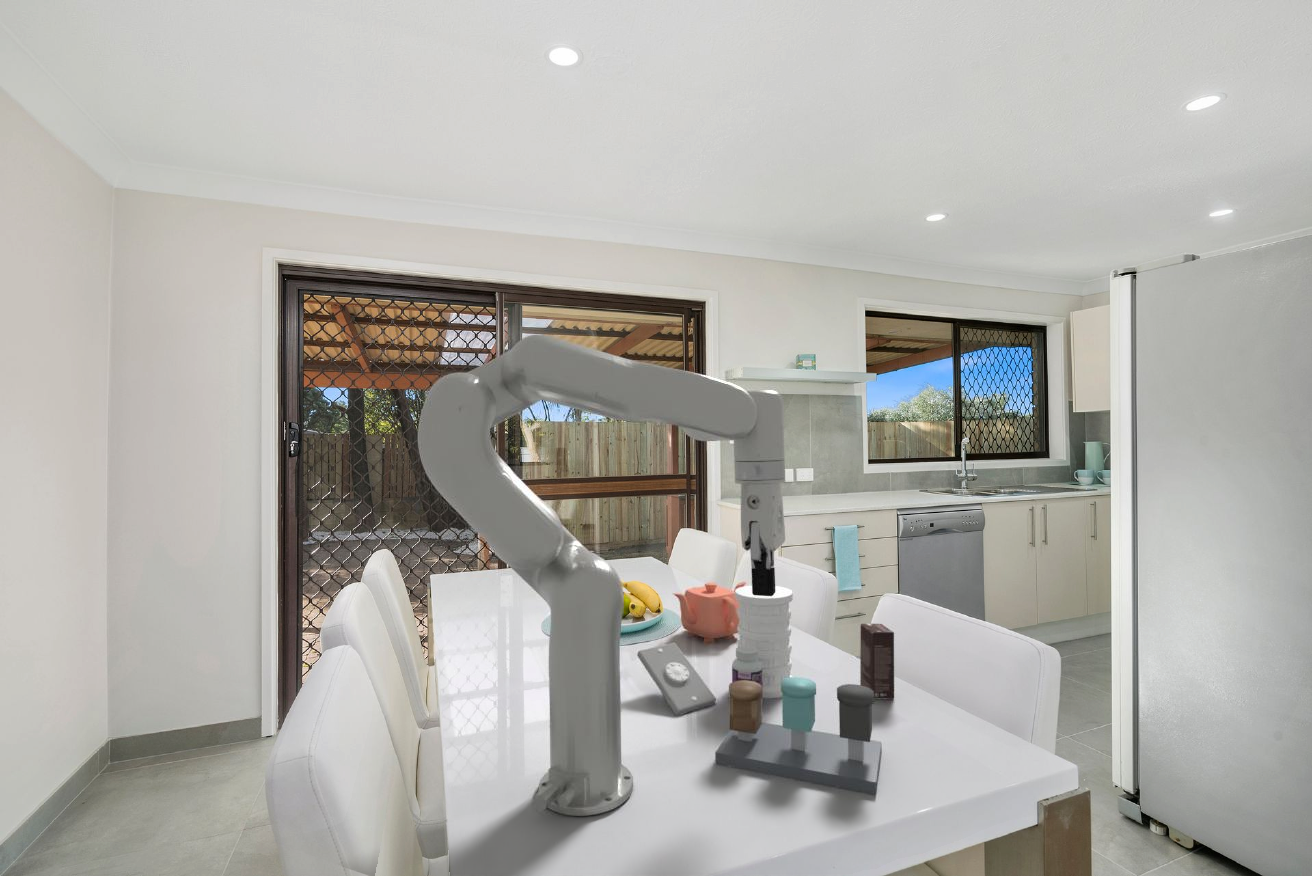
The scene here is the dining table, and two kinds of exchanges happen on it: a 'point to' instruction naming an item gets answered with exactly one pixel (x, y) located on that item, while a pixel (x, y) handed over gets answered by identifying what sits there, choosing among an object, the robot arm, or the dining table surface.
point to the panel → (804, 756)
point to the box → (877, 660)
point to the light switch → (676, 678)
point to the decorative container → (767, 633)
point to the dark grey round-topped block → (855, 711)
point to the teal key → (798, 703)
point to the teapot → (710, 611)
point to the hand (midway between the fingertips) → (763, 594)
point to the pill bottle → (747, 666)
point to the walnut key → (745, 706)
